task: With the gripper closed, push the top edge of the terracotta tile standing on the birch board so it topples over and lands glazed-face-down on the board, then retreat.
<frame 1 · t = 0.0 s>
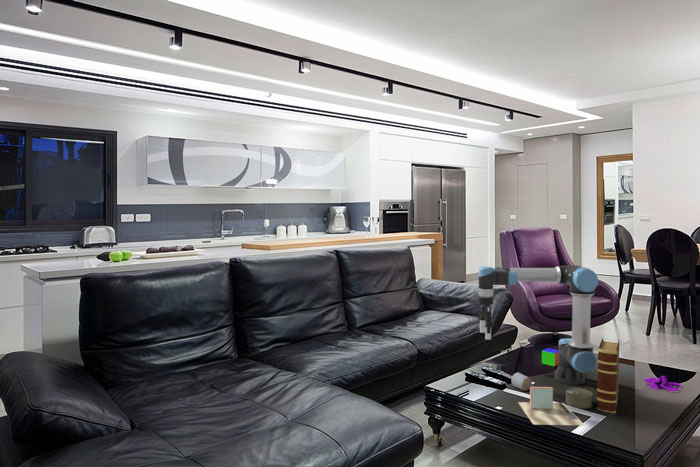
hand: (485, 335, 256), 28 cm above the table, fingers open, 13 cm apart
turner: (568, 413, 222), point 1 cm above the table, touching board
board: (549, 415, 222), on the table
tile: (541, 408, 227), point 1 cm above the table, touching board
beige short cylinder: (578, 406, 233), on the table
decorative book: (607, 406, 233), on the table
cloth: (661, 387, 258), on the table
grey cylinder: (523, 388, 256), on the table
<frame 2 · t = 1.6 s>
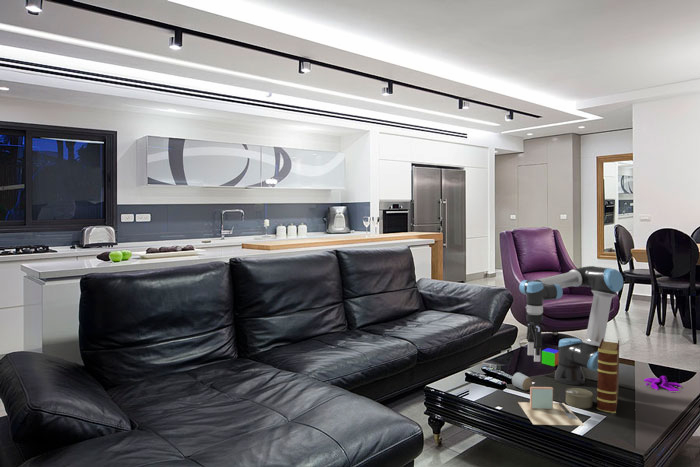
hand: (533, 358, 238), 22 cm above the table, fingers open, 9 cm apart
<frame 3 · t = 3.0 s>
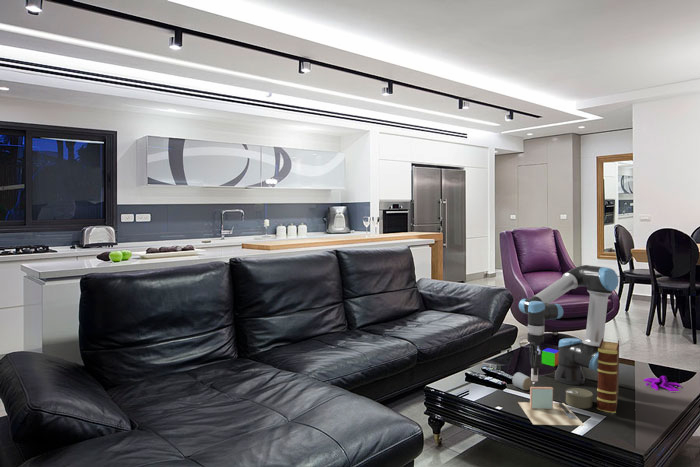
hand: (534, 380, 236), 11 cm above the table, fingers closed
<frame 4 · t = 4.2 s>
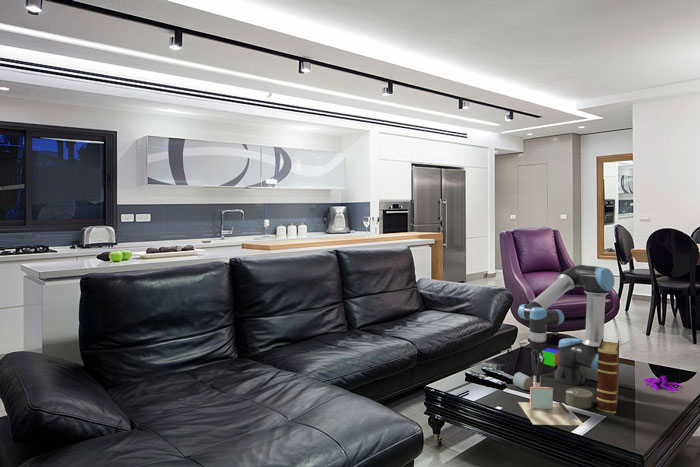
hand: (536, 388, 233), 9 cm above the table, fingers closed
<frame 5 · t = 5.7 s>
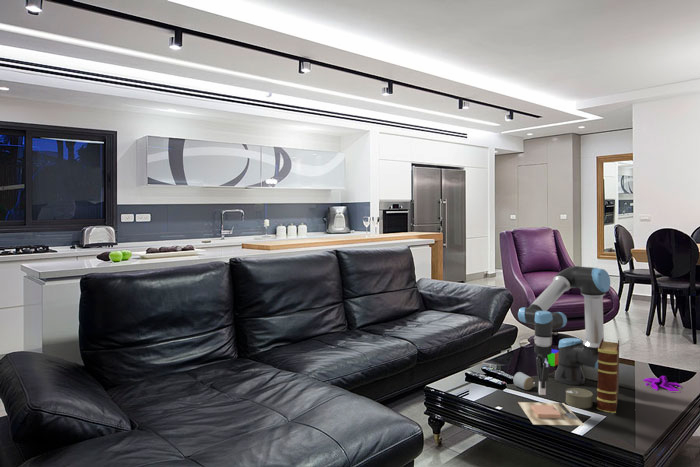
hand: (542, 394, 226), 8 cm above the table, fingers closed
tile: (542, 407, 226), point 2 cm above the table, tilted 90°, touching board
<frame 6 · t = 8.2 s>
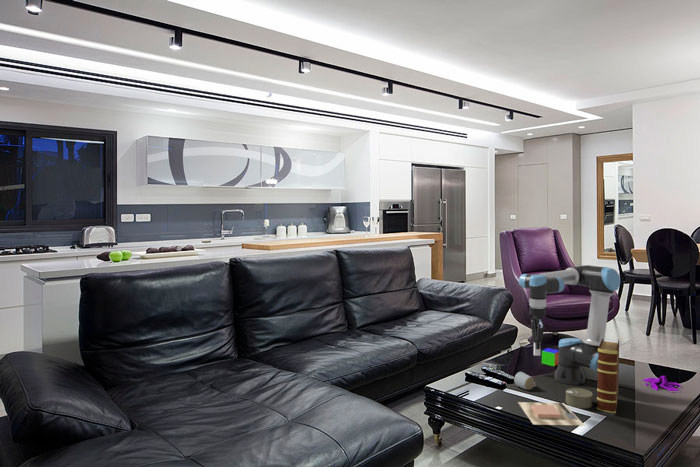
hand: (536, 355, 234), 24 cm above the table, fingers closed
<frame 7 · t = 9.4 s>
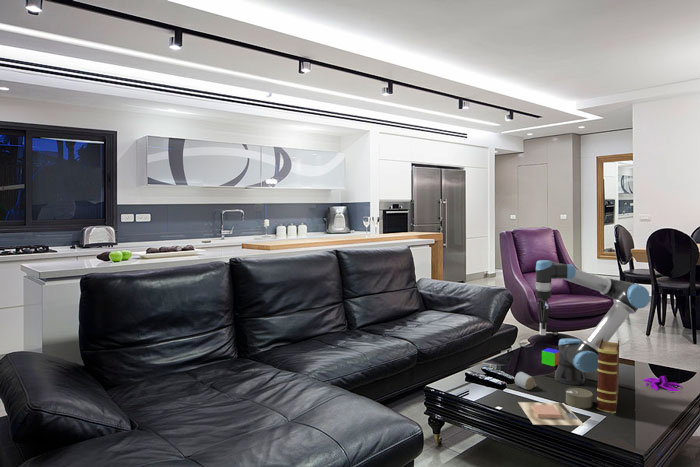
hand: (542, 334, 252), 29 cm above the table, fingers closed
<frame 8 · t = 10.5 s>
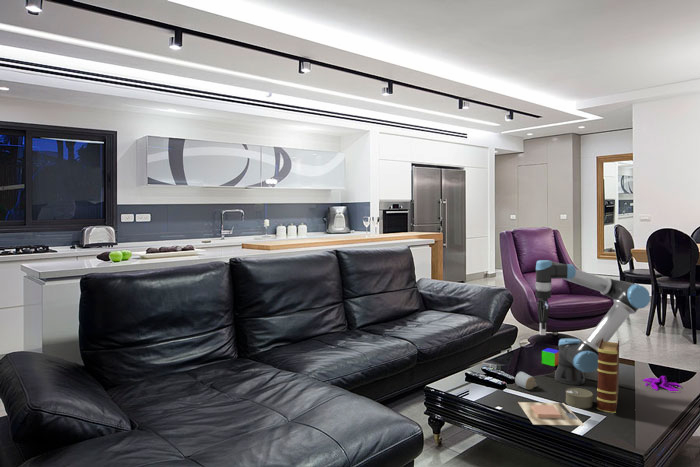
hand: (542, 334, 252), 29 cm above the table, fingers closed
at the end: tile tilted 90°; tile inside the target area on the board (4.6 cm from its centre), point 2.2 cm above the board's base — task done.
